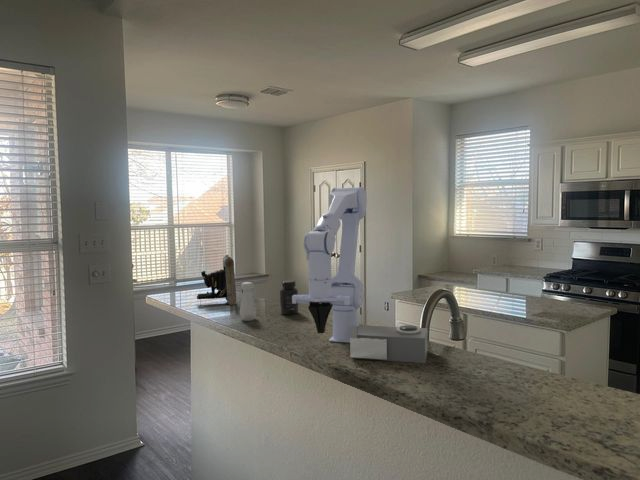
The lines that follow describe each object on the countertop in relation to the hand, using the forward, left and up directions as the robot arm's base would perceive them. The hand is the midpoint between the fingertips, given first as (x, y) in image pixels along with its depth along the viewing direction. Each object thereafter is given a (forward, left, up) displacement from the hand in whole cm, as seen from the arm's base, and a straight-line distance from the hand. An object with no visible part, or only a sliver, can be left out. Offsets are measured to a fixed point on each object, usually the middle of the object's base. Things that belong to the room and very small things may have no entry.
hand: (321, 332), depth 116 cm
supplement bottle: (-48, -26, -7) cm, 55 cm away
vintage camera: (-59, -62, -7) cm, 86 cm away
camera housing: (-6, +17, -6) cm, 19 cm away
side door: (0, +12, -6) cm, 13 cm away
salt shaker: (-36, -37, -7) cm, 52 cm away
